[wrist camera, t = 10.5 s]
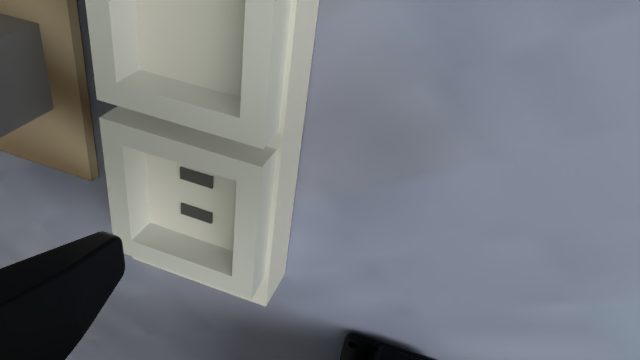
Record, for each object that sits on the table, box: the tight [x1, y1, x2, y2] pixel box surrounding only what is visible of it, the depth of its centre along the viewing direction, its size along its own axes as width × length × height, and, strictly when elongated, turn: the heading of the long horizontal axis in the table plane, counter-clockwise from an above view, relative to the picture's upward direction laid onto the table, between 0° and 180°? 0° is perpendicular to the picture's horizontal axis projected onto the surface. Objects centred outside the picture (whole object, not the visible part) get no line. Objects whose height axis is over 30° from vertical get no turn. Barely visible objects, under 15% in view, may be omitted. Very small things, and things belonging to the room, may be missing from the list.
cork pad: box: [0, 0, 99, 181], centre depth 27 cm, size 12×8×1 cm, turn 172°
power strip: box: [85, 0, 319, 307], centre depth 22 cm, size 19×8×4 cm, turn 172°
